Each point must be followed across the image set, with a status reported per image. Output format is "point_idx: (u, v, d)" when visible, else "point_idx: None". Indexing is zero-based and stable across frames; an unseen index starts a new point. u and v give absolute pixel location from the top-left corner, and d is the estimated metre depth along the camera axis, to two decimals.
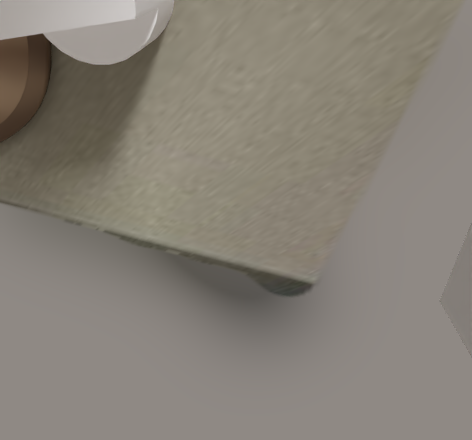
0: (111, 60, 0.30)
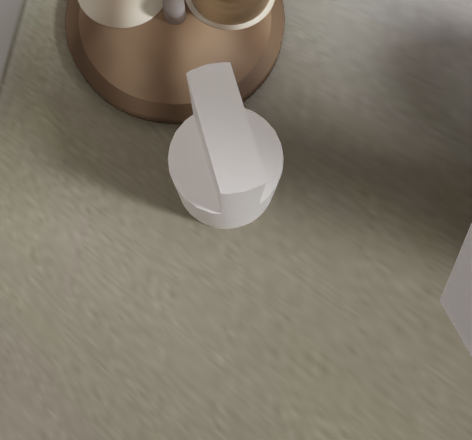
0: (173, 173, 0.32)
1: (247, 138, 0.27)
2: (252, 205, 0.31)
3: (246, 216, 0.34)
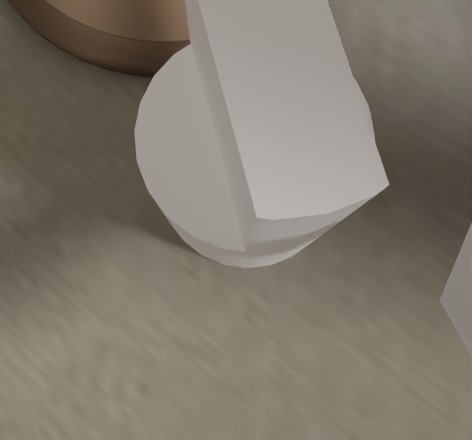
0: (144, 163, 0.15)
1: (332, 65, 0.10)
2: (314, 236, 0.14)
3: (291, 252, 0.17)
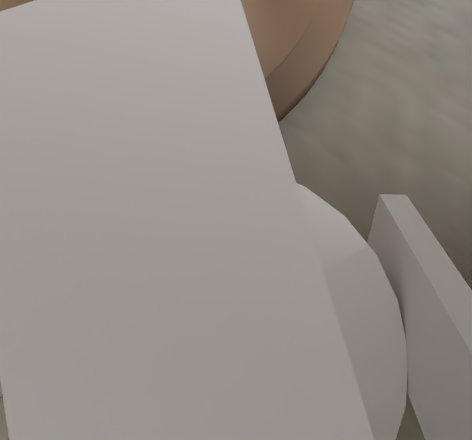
0: None
1: None
2: None
3: None
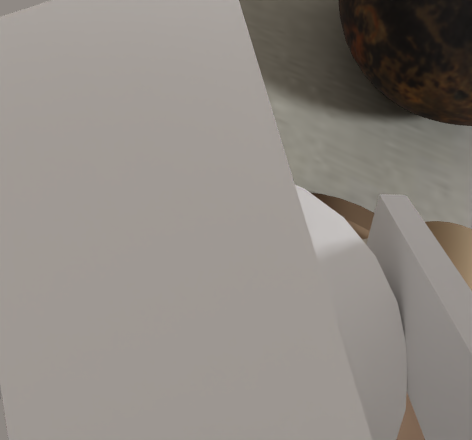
0: None
1: None
2: None
3: None
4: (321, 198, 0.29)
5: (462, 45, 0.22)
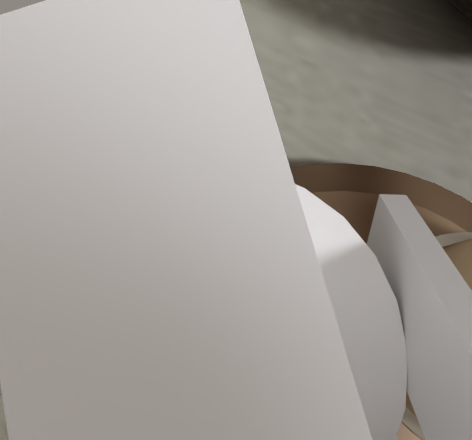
0: None
1: None
2: None
3: None
4: (375, 173, 0.19)
5: None
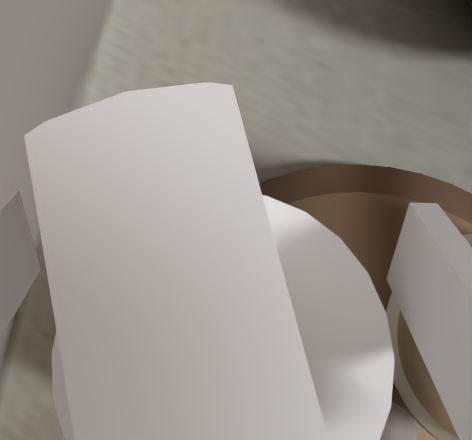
0: (63, 403, 0.11)
1: None
2: None
3: None
4: (390, 174, 0.19)
5: None
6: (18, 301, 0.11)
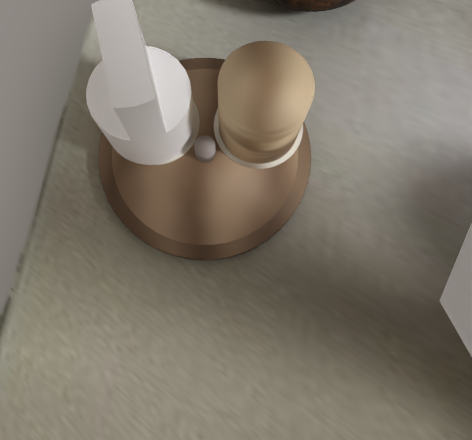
0: (90, 104, 0.36)
1: (141, 61, 0.30)
2: (156, 131, 0.34)
3: (159, 147, 0.38)
4: (222, 61, 0.44)
5: None
6: None
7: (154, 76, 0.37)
